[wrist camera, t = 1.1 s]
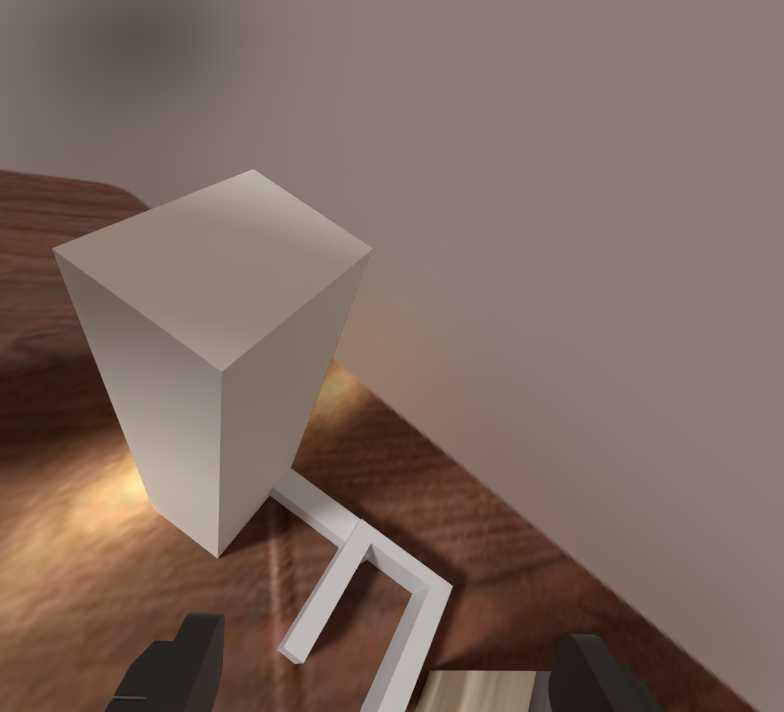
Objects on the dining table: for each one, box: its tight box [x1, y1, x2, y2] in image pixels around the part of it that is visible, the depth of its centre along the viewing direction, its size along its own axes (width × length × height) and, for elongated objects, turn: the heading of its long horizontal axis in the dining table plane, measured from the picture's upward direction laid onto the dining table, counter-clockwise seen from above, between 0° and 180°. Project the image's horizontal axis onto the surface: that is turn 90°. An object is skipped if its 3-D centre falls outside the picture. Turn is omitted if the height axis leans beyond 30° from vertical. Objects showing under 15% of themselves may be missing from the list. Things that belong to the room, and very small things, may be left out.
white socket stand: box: [52, 169, 453, 712], centre depth 21 cm, size 21×10×24 cm, turn 60°
